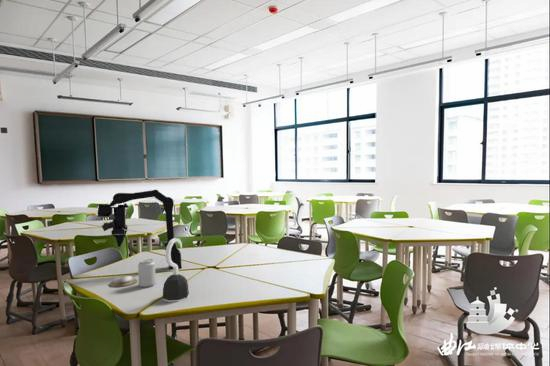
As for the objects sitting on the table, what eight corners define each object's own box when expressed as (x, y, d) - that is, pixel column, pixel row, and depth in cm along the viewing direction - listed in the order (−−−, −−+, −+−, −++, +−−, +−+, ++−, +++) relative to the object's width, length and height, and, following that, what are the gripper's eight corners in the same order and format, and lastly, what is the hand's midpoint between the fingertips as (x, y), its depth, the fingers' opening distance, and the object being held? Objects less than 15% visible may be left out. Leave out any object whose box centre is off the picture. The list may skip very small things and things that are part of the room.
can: (139, 289, 160) (139, 262, 160) (137, 284, 167) (137, 259, 166) (156, 286, 163) (156, 260, 163) (154, 282, 170) (153, 257, 170)
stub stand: (137, 278, 177) (137, 273, 177) (136, 285, 165) (135, 280, 165) (111, 281, 173) (111, 276, 173) (108, 288, 162) (107, 283, 162)
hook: (172, 292, 155) (170, 235, 154) (194, 294, 152) (193, 236, 151) (156, 300, 144) (155, 240, 144) (179, 303, 141) (178, 241, 140)
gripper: (105, 215, 195) (106, 243, 195) (100, 218, 177) (100, 249, 177) (127, 214, 198) (127, 241, 199) (124, 217, 181) (124, 248, 181)
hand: (120, 245), depth 189 cm, fingers open, 9 cm apart
